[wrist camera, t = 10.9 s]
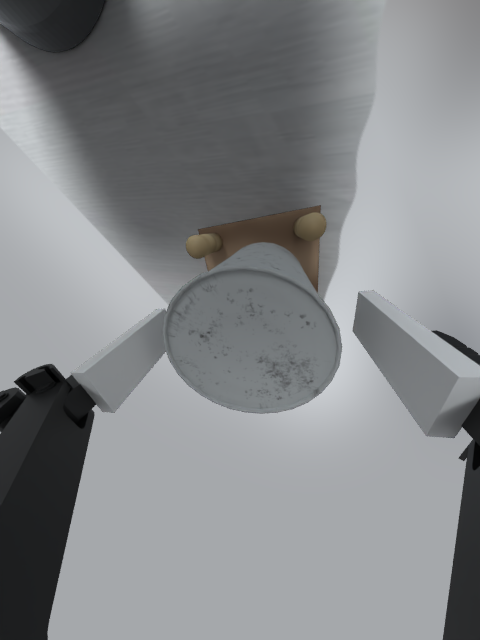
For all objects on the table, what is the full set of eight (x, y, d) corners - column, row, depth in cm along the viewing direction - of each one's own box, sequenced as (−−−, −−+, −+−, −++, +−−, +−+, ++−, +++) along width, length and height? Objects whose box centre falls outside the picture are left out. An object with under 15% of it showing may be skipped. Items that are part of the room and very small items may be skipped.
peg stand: (204, 229, 20) (174, 230, 14) (316, 207, 18) (337, 197, 11) (227, 332, 26) (213, 364, 20) (313, 328, 24) (325, 364, 18)
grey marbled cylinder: (242, 333, 24) (215, 421, 13) (206, 266, 20) (128, 311, 10) (316, 308, 20) (361, 400, 10) (287, 223, 17) (306, 219, 6)
